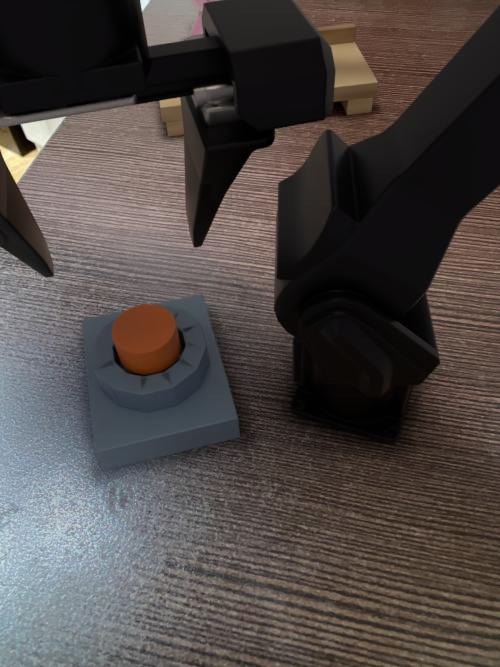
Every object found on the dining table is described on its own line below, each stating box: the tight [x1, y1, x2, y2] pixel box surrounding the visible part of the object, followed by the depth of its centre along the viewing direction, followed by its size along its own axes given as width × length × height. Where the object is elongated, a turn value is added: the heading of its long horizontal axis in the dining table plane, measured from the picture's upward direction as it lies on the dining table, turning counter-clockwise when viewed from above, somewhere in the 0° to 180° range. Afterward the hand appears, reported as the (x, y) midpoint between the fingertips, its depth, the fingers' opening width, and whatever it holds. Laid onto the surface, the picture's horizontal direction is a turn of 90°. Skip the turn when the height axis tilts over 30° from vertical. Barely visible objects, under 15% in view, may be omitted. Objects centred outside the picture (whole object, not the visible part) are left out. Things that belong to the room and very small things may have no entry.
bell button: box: [112, 303, 181, 375], centre depth 34 cm, size 4×4×2 cm
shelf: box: [158, 23, 379, 138], centre depth 58 cm, size 9×20×4 cm, turn 99°
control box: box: [81, 293, 241, 472], centre depth 36 cm, size 10×8×4 cm
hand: (124, 256), depth 29 cm, fingers open, 7 cm apart
